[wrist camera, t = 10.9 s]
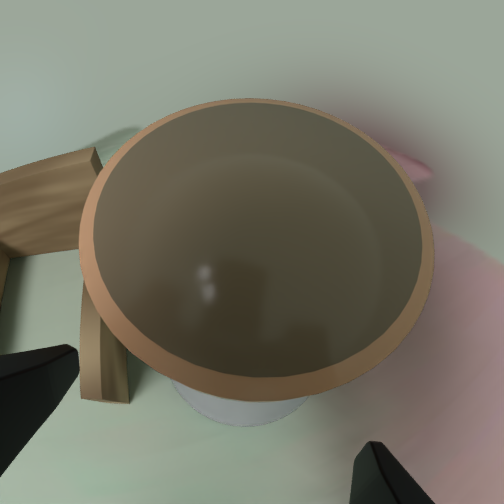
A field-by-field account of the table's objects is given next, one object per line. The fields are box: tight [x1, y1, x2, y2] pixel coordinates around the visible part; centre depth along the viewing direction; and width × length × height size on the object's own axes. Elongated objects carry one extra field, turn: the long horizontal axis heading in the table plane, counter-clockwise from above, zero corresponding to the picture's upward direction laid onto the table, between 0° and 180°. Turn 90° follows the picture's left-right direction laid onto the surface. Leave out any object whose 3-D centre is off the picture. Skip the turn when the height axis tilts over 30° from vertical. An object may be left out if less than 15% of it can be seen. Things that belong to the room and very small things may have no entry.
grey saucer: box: [171, 379, 309, 427], centre depth 16 cm, size 9×9×1 cm
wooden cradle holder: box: [0, 147, 130, 404], centre depth 13 cm, size 12×13×8 cm
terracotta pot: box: [79, 98, 434, 403], centre depth 10 cm, size 6×6×12 cm
